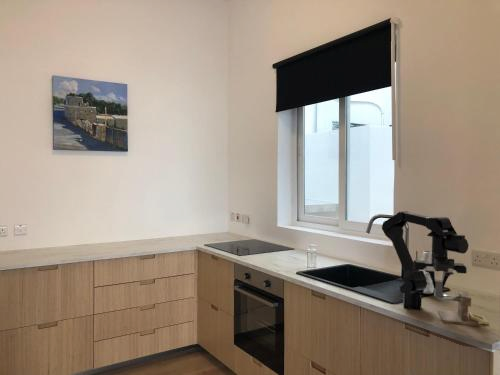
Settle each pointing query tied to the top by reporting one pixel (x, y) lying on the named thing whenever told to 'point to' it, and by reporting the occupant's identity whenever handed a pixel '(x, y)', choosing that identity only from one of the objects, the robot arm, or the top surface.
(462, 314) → the bearing stand
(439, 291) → the shaft
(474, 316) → the bar
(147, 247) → the top surface
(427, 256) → the plastic bottle
